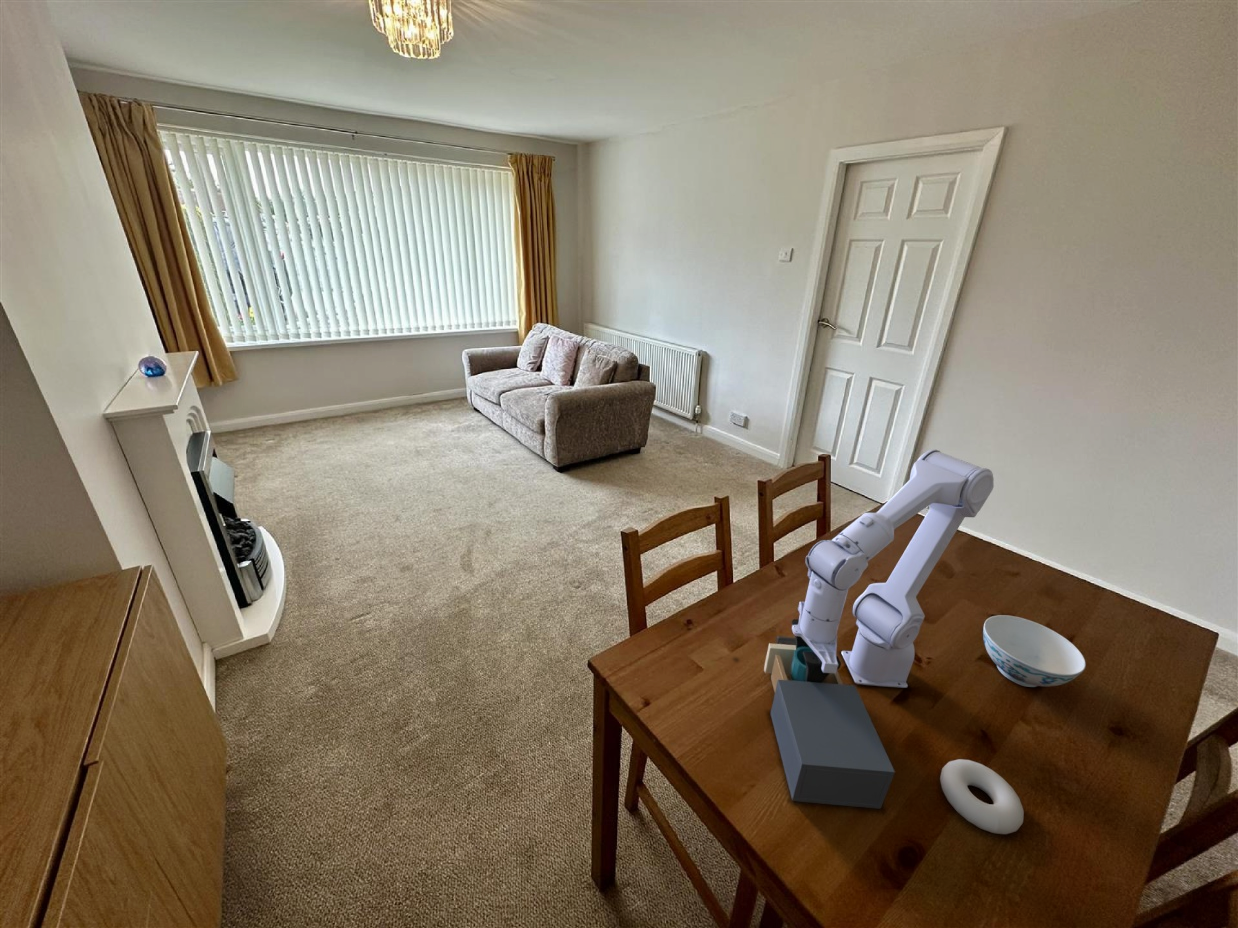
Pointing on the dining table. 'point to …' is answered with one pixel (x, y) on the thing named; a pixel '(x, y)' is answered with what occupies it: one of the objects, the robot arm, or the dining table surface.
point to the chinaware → (1031, 652)
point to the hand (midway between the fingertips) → (807, 670)
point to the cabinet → (829, 745)
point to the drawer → (787, 661)
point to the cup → (799, 664)
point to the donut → (988, 817)
